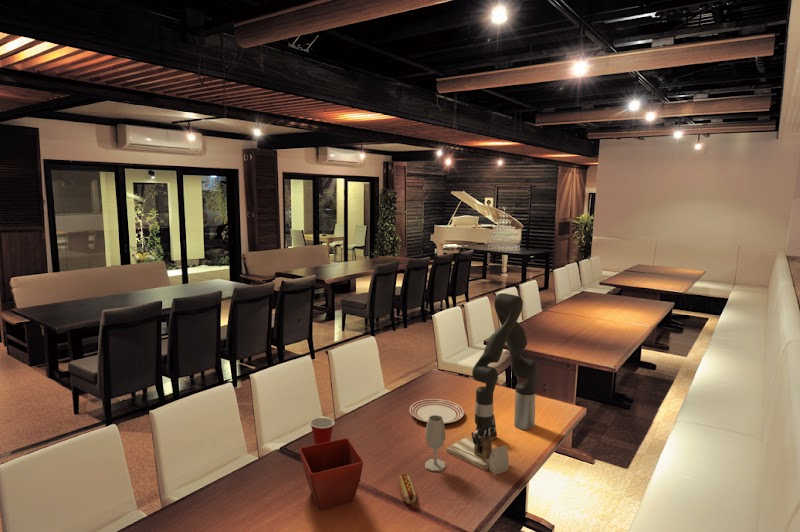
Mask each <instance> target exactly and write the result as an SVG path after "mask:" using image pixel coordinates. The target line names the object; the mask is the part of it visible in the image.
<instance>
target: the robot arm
mask: <svg viewBox="0 0 800 532" xmlns="http://www.w3.org/2000/svg"><path fill="white" fill-rule="evenodd" d="M493 305H494V310H495V314H496V315H497V318H498V320H499V322H500V325H501V326H500V327H499V328H498V329H497V330H496V331H495V332H493V333H492V334H491V336H490V337H489V338H488V340H487V342H486V345H485V347H484V351H483V353H482V354H481V356H480V357H479V359H478V360H477V361H476V363H475V364H474V366H473V369H472V373H471V374H472V378H473V380H475V381H477V382H478V383H479V382H480V383H482V384H485V385H483V386H478V387H477V388H476V390H475V405H474V423H475V425H476V428H475V431H474V432H473V431H472V432H471V437H472V438H471V439H473V443H474V444H476V445H477V452H478V453H480V454H482V447H483V445H482V444H483V440H484V439H485V435H486V436H488V437H492V438H493V434H494V429H495V424H496V423H495V424H493V414H494V391H495V388H496V385H497V382H498V379H499V372H498V370H497V369H496V368H495V367H492V366H489V365H490V364H492V363H493V364H495V363H496V364H497V363H499V361H500V359H501V356H502V354H503V351H504V347H505V345H506V346H507V349H508V352H509V353H508V354H509V355H510V356H509V357H510V363H511V368H512V373H513V374H514V376H515V377H517V378H521V379H526V380H527V381H525V382H524V381H523V382H519V383H517V384H516V385H515V394H514V396H515V398H514V399H515V400H514V401H515V402H514V423H513V425H514V426H515V427H516V428H517V429H519V430H525V431H527V430H528V431H529V430H532V429H534V427H535V420H536V388H537V378H538V369H539V368H538V367H539V366H538V362H537V361H536V360H533V359H528V358H524V357H522V356H521V354H522V353H523V352H524V350H525V349H526V348H527V345H528V339H527V335H526V331H525V329H524V328H523V326H522V325H521V323H519V322H518V319H519V318H520V316H521V314H522V310H523V307H524V301H523V298H522V297H521V296H519V295H517V294H516V295H515V294H510V293H505V292H504V293H501V292H500V293H498V294H497V295H496V296H495V298H494V303H493ZM490 432H491V434H490ZM480 436H481V437H480ZM479 439H480V440H481V441H479Z"/></svg>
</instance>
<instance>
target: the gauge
mask: <svg viewBox="0 0 800 532" xmlns="http://www.w3.org/2000/svg"><path fill="white" fill-rule="evenodd" d="M480 437H481V436H480ZM479 441H481V440H480V439H479ZM482 445H483V447H482V454H480V453H478V452H477V445H476V444H475V446H474V454H476V455H478V456H480V457H482V458H485V459H487V458H489V457H490V454H491V452H492V448H493V439H492V437H488V436H486V435H485V439H484V440H483V444H482Z"/></svg>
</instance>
